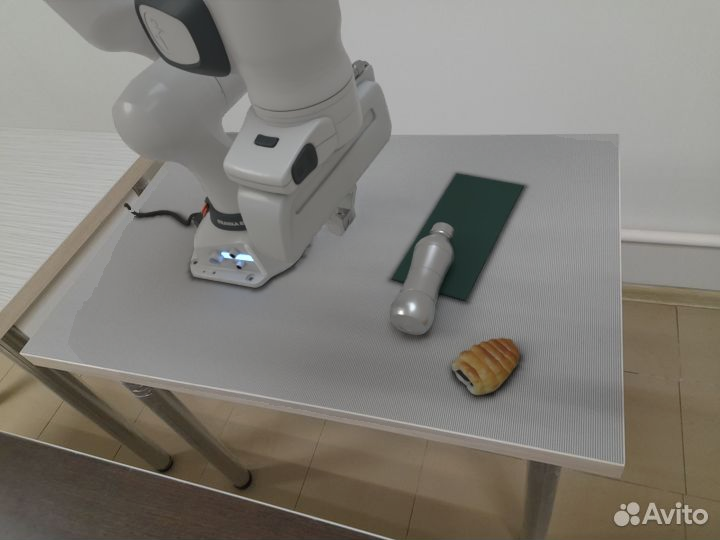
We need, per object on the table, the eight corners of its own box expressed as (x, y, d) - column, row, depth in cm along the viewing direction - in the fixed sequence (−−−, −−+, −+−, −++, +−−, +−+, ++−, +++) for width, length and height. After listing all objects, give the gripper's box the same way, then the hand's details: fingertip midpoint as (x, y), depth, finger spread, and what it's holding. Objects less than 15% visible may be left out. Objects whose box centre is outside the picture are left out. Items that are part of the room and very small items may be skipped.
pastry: (497, 334, 76) (497, 319, 74) (532, 365, 72) (533, 350, 69) (447, 370, 74) (445, 356, 71) (480, 405, 70) (479, 391, 67)
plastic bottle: (428, 321, 73) (464, 220, 84) (382, 310, 75) (423, 212, 86) (429, 344, 78) (463, 246, 89) (386, 333, 80) (424, 238, 91)
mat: (465, 301, 81) (465, 299, 81) (391, 279, 87) (391, 278, 87) (523, 186, 96) (523, 185, 95) (456, 174, 101) (456, 173, 101)
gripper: (339, 47, 51) (364, 160, 62) (208, 178, 41) (265, 287, 51) (396, 52, 49) (412, 169, 59) (271, 194, 38) (317, 306, 49)
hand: (343, 225), depth 55 cm, fingers closed
